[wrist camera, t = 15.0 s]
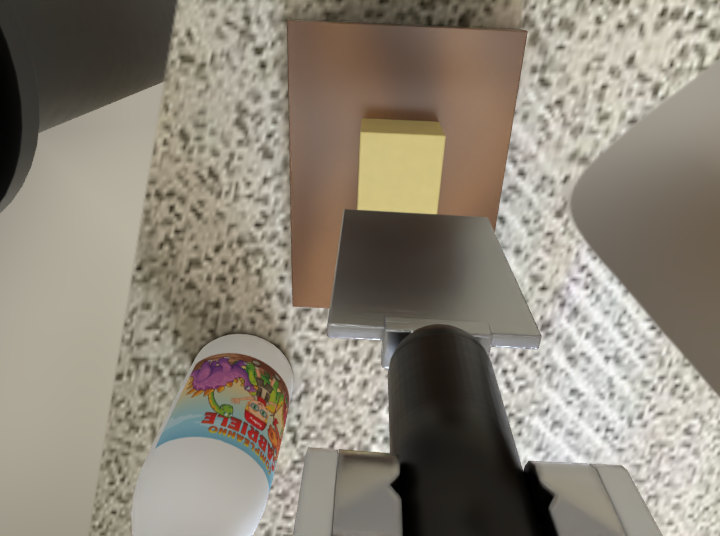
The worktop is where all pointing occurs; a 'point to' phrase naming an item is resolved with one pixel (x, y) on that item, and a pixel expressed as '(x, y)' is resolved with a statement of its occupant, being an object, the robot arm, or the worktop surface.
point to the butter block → (400, 165)
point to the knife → (440, 362)
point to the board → (395, 102)
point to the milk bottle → (217, 443)
